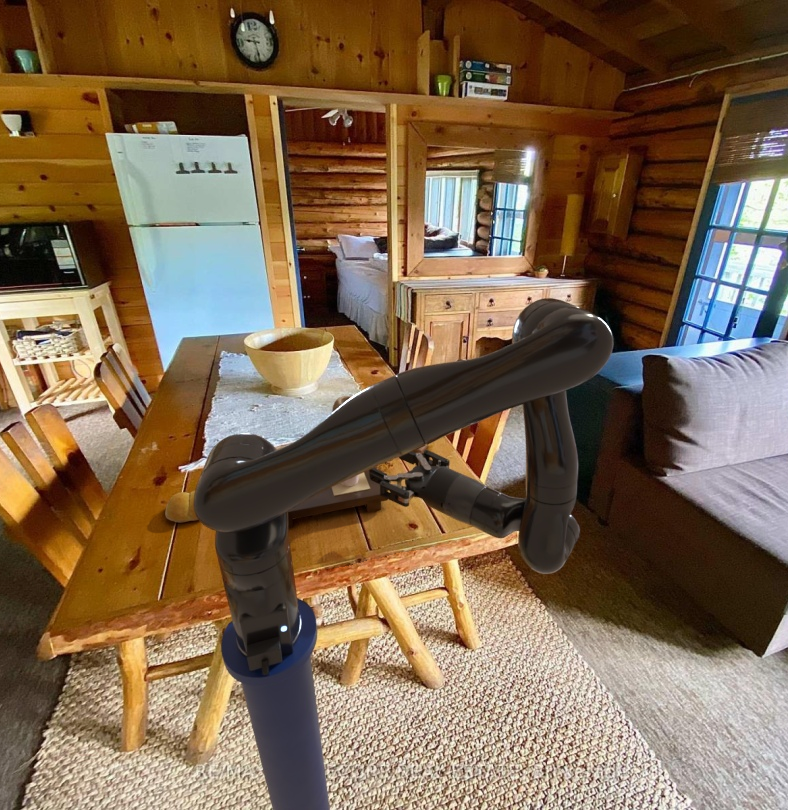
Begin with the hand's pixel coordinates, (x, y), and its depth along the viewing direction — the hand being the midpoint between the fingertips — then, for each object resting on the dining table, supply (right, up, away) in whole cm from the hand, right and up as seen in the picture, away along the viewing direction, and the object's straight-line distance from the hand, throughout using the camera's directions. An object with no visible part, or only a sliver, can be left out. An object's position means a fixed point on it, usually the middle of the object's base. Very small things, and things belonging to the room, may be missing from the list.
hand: (385, 462), depth 84 cm
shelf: (-13, -10, +10) cm, 19 cm away
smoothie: (-8, -5, +10) cm, 14 cm away
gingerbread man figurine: (+4, 0, +31) cm, 31 cm away
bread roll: (-40, -11, +6) cm, 42 cm away
